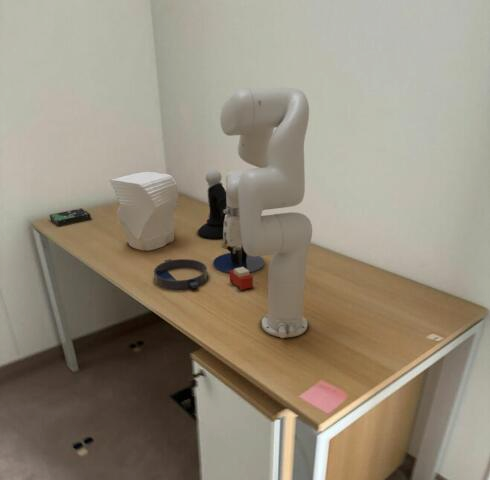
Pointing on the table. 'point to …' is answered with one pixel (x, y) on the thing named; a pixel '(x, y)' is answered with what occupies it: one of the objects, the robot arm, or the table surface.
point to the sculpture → (214, 207)
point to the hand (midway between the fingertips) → (238, 261)
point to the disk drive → (70, 217)
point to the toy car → (241, 278)
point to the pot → (170, 282)
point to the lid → (238, 262)
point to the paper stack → (147, 208)
